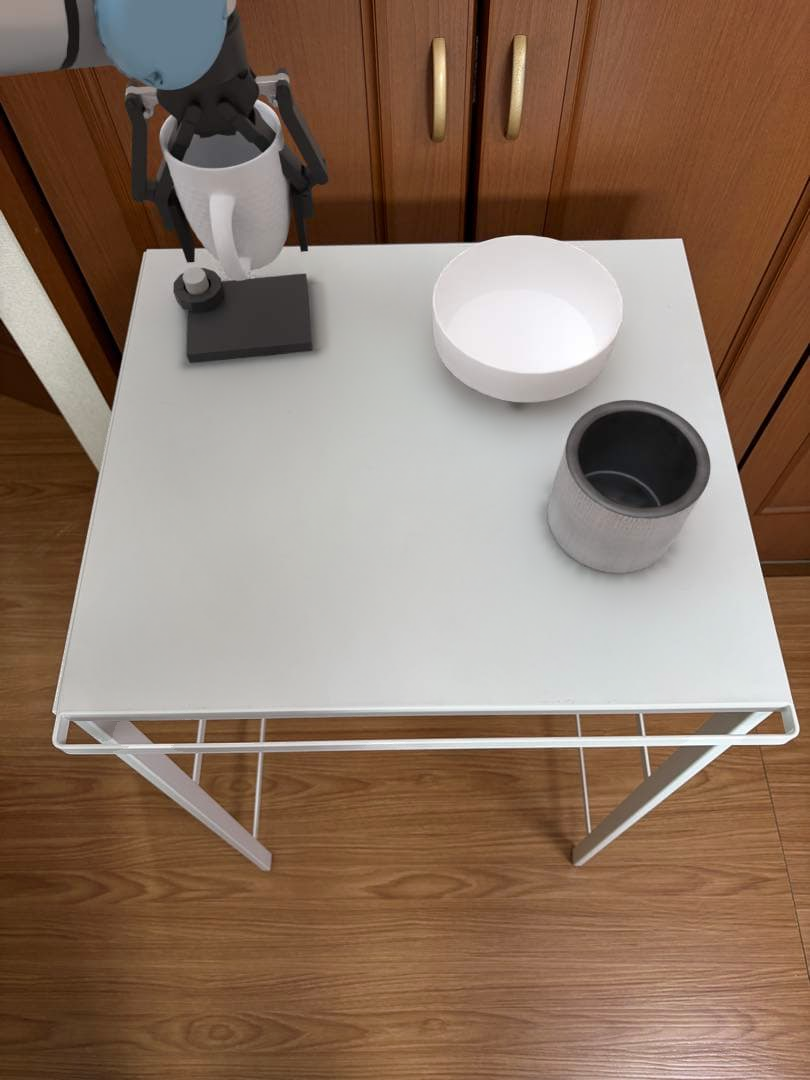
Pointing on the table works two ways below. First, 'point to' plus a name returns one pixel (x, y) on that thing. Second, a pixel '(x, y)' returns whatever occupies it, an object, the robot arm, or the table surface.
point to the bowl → (525, 317)
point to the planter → (626, 485)
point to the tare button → (195, 281)
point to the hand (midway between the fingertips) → (247, 248)
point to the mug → (234, 195)
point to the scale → (246, 317)
